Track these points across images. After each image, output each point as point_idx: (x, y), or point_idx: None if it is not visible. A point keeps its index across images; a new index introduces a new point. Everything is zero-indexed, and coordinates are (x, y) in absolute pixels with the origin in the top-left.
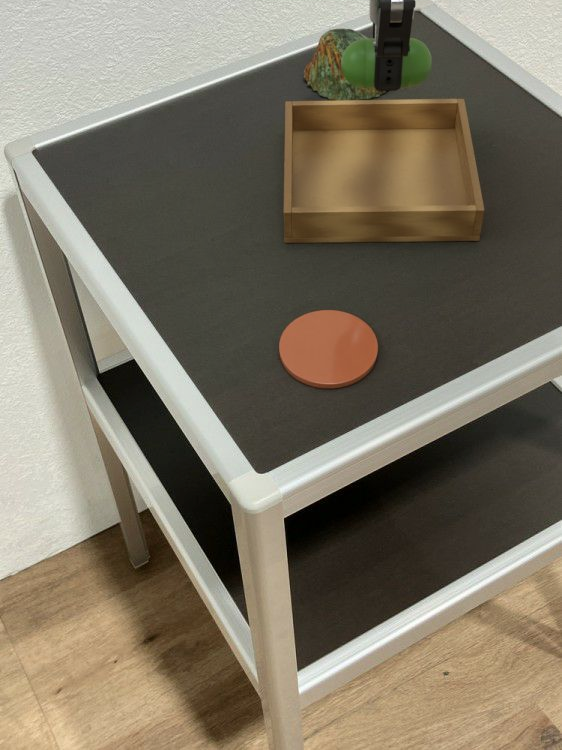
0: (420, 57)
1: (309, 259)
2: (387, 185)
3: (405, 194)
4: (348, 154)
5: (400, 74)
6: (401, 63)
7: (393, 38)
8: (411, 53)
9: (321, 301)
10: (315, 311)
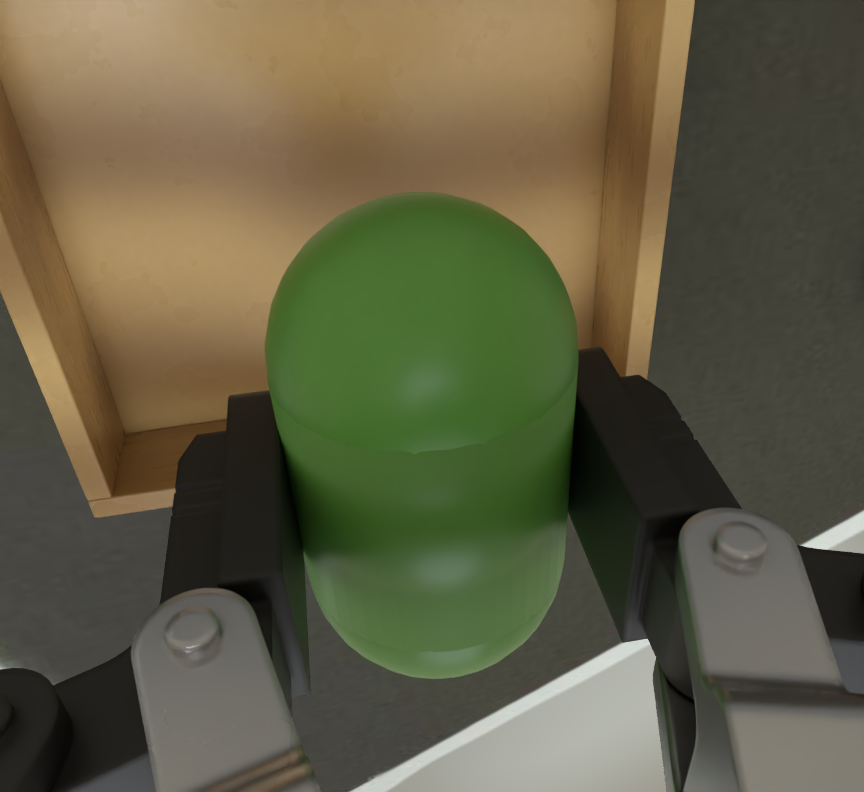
0: (544, 332)
1: (667, 306)
2: (372, 118)
3: (419, 49)
4: (216, 262)
5: (626, 399)
6: (657, 448)
7: (845, 675)
8: (545, 404)
9: (820, 260)
10: None
